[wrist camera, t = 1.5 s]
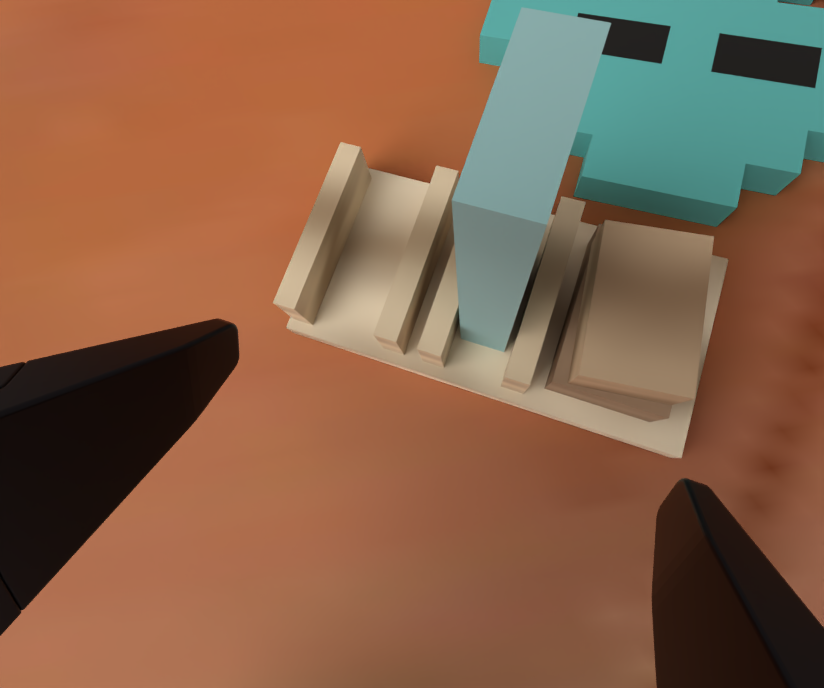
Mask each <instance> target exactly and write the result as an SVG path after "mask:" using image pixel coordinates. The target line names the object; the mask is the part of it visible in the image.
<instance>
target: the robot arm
mask: <svg viewBox="0 0 824 688" xmlns="http://www.w3.org/2000/svg"><path fill="white" fill-rule="evenodd" d="M238 360H239V341H238V329H237V327H236V325H235V324H233V323H231V322H228V321H225V320H222V319H212V320H208V321H203V322H199V323H194V324H190V325H185V326H181V327H177V328H172V329H168V330H163V331H159V332H154V333H150V334H145V335H141V336H137V337H132V338H128V339H123V340H119V341H114V342H110V343H105V344H101V345H96V346H92V347H88V348H83V349H79V350H74V351H70V352H65V353H61V354H56V355H52V356H48V357H43V358H39V359H34V360H30V361H27V362H26V363H24V362H20V363H16V364H12V365H7V366H3V367H0V636H1V635H2V633H3V632H4V631H5V630H6V629H7V628H8V627H9V626H10V625H11V624H12V622H13V621H14V620H15V619H16V618H17V617H18V616H19V615H20V614H21V610H24V609H25V608H26V607H27V606H28V604H29V603H30V602H31V601H32V600H33V599H34V598H35V597H36V596H37V595H38V593H39V592H40V591H41V590H42V589H43V588H44V587H45V586H46V585H47V584H48V582H49V581H50V580H51V579H52V578H53V577H54V576H55V575H56V574H57V573H58V572H59V570H60V569H61V568H62V567H63V566H64V565H65V564H66V563H67V562H68V561H69V559H70V558H71V557H72V556H73V555H74V554H75V553H76V552H77V551H78V550H79V548H80V547H81V546H82V545H83V544H84V543H85V542H86V541H87V540H88V539H89V538H90V536H91V535H92V534H93V533H94V532H95V531H96V530H97V529H98V528H99V527H100V525H101V524H102V523H103V522H104V521H105V520H106V519H107V518H108V517H109V516H110V514H111V513H112V512H113V511H114V510H115V509H116V508H117V507H118V506H119V505H120V503H121V502H122V501H123V500H124V499H125V498H126V497H127V496H128V495H129V494H130V493H131V491H132V490H133V489H134V488H135V487H136V486H137V485H138V484H139V483H140V482H141V480H142V479H143V478H144V477H145V476H146V475H147V474H148V473H149V472H150V471H151V469H152V468H153V467H154V466H155V465H156V464H157V463H158V462H159V461H160V460H161V458H162V457H163V456H164V455H165V454H166V453H167V452H168V451H169V450H170V449H171V448H172V446H173V445H174V444H175V443H176V442H177V441H178V440H179V439H180V438H181V437H182V435H183V434H184V433H185V432H186V431H187V430H188V429H189V428H190V427H191V425H192V424H193V423H194V422H195V421H196V420H197V418H198V417H199V416H200V414H201V413H202V412H203V411H204V409H205V408H206V407H207V405H208V404H209V402H210V401H211V400H212V398H213V397H214V396H215V394H216V393H217V392H218V390H219V389H220V387H221V386H222V385H223V383H224V382H225V381H226V379H227V378H228V377H229V375H230V374H231V372H232V371H233V370H234V368H235V367H236V365H237V363H238ZM652 617H653V634H654V650H655V667H656V684H657V688H824V627H823V626H822V625H821V624H820V622H819V621H818V620H817V619H816V618H815V616H814V615H813V614H812V613H811V611H810V610H809V609H808V608H807V606H806V605H805V604H804V603H803V602H802V600H801V599H800V598H799V597H798V595H797V594H796V593H795V592H794V591H793V589H792V588H791V587H790V586H789V584H788V583H787V582H786V581H785V579H784V578H783V577H782V576H781V575H780V573H779V572H778V571H777V570H776V568H775V567H774V566H773V565H772V564H771V562H770V561H769V560H768V559H767V557H766V556H765V555H764V554H763V552H762V551H761V550H760V549H759V548H758V546H757V545H756V544H755V543H754V541H753V540H752V539H751V538H750V537H749V535H748V534H747V533H746V532H745V530H744V529H743V528H742V527H741V525H740V524H739V523H738V522H737V521H736V519H735V518H734V517H733V516H732V514H731V513H730V512H729V511H728V510H727V508H726V507H725V506H724V505H723V503H722V502H721V501H720V500H719V498H718V497H717V496H716V495H715V494H714V492H713V491H712V490H711V489H710V488H709V487H708V486H707V485H704V484H702V483H699V482H696V481H693V480H690V479H687V478H683V479H681V480H679V481H678V482H677V483H676V485H675V486H674V487H673V489H672V490H671V492H670V493H669V494H668V496H667V497H666V499H665V500H664V501H663V503H662V504H661V506H660V508H659V510H658V513H657V519H656V534H655V549H654V565H653V581H652Z"/></svg>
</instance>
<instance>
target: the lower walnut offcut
mask: <svg viewBox="0 0 824 688" xmlns="http://www.w3.org/2000/svg"><path fill="white" fill-rule="evenodd" d="M601 226H602V224H599V225H598V226H597V228H596V230H595V232H594V234H593V235H592V237H591V239H590V241H589V242H588V244H587V248H586V251H585V254H584V258H583V261H582V264H581V268H580V271H579V274H578V278H577V281H576V285H575V288H574V291H573V295H572V298H571V301H570V305H569V308H568V311H567V315H566V318H565V321H564V325H563V328H562V331H561V335H560V338H559V342H558V345H557V348H556V352H555V355H554V358H553V362H552V365H551V368H550V372H549V375H548V378H547V382H546V385H545V388H544V389H547V390H550V391H554V392H557V393H560V394H563V395H566V396H569V397H572V398H575V399H579V400H582V401H585V402H588V403H591V404H594V405H597V406H600V407H603V408H607V409H610V410H613V411H616V412H619V413H622V414H625V415H628V416H632V417H635V418H638V419H641V420H644V421H647V422H653V421H658V420H664V419H669V416H670V412H671V408H672V405H667V404H662V403H658V402H653V401H648V400H643V399H639V398H634V397H629V396H624V395H620V394H615V393H610V392H605V391H601V390H596V389H591V388H586V387H582V386H577V385H572V384H568V378H569V372H570V366H571V360H572V355H573V349H574V343H575V337H576V331H577V326H578V320H579V314H580V308H581V302H582V297H583V291H584V285H585V279H586V273H587V268H588V262H589V256H590V250H591V244H592V242H593V240H594V238H595V236H596V235H597V233H598V231H599V229H600V228H601Z"/></svg>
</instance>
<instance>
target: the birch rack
mask: <svg viewBox="0 0 824 688" xmlns="http://www.w3.org/2000/svg"><path fill="white" fill-rule="evenodd" d="M458 181H459V175H458V171H456V170H452V169H448V168H444V167H440V166H436V168H435V171H434V174H433V176H432V179H431V182H430V184H429V183H425V182H421V181H417V180H413V179H409V178H405V177H401V176H398V175H394V174H390V173H386V172H382V171H378V170H374V169H370V168H368V166H367V163H366V160H365V158H364V155H363V152H362V149H361V147H358V146H354V145H350V144H346V143H342V142H341V143H340V145H339V147H338V150H337V152H336V154H335V157H334V159H333V162H332V164H331V166H330V169H329V171H328V173H327V176H326V178H325V181H324V183H323V185H322V188H321V190H320V192H319V195H318V197H317V200H316V202H315V204H314V207H313V209H312V211H311V214H310V216H309V219H308V221H307V223H306V226H305V228H304V230H303V233H302V235H301V238H300V240H299V242H298V245H297V247H296V249H295V252H294V254H293V256H292V259H291V261H290V264H289V266H288V268H287V271H286V273H285V275H284V278H283V280H282V283H281V285H280V287H279V290H278V292H277V294H276V297H275V299H274V302H273V303H274V304H275V305H277V306H278V307H279V308H280V309H282V310H283V311H284V312H286V313H287V314H288V315H289V316H291V317H290V320H289V322H288V324H287V327H286V328H288V329H289V330H290V331H292V332H293V333H296V334H299V335H302V336H305V337H308V338H311V339H314V340H317V341H320V342H323V343H326V344H329V345H332V346H335V347H338V348H341V349H344V350H347V351H350V352H353V353H356V354H359V355H362V356H365V357H368V358H371V359H374V360H377V361H380V362H383V363H386V364H389V365H392V366H395V367H398V368H401V369H404V370H407V371H410V372H413V373H416V374H419V375H422V376H425V377H428V378H431V379H434V380H437V381H440V382H443V383H447V384H450V385H453V386H456V387H459V388H462V389H465V390H468V391H471V392H474V393H477V394H480V395H483V396H486V397H489V398H492V399H495V400H498V401H501V402H504V403H507V404H510V405H513V406H516V407H519V408H522V409H525V410H528V411H531V412H534V413H537V414H540V415H543V416H546V417H549V418H552V419H555V420H558V421H561V422H564V423H567V424H570V425H573V426H576V427H579V428H582V429H585V430H588V431H591V432H594V433H597V434H600V435H603V436H606V437H609V438H612V439H616V440H619V441H622V442H625V443H628V444H631V445H634V446H637V447H640V448H643V449H646V450H649V451H652V452H655V453H658V454H661V455H664V456H667V457H670V458H682V454H683V449H684V445H685V441H686V437H687V432H688V428H689V424H690V420H691V416H692V411H693V407H694V403H695V399H696V395H695V399H693V400H689V401H685V402H681V403H677V404H674V405H672V408H671V412H670V416H669V419H664V420H658V421H653V422H647V421H644V420H641V419H638V418H635V417H632V416H628V415H625V414H622V413H619V412H616V411H613V410H610V409H607V408H603V407H600V406H597V405H594V404H591V403H588V402H585V401H582V400H579V399H575V398H572V397H569V396H566V395H563V394H560V393H557V392H554V391H550V390H547V389H544V388H545V385H546V382H547V378H548V375H549V372H550V368H551V365H552V362H553V358H554V355H555V352H556V348H557V345H558V342H559V338H560V335H561V331H562V328H563V325H564V321H565V318H566V315H567V311H568V308H569V305H570V301H571V298H572V295H573V291H574V288H575V285H576V281H577V278H578V274H579V271H580V268H581V264H582V261H583V258H584V254H585V251H586V248H587V244H588V242H589V241H590V239H591V237H592V235H593V234H594V232H595V230H596V228H597V226H595V225H591V224H588V223H584V222H580V220H581V217H582V213H583V210H584V207H585V203H586V202H583V201H579V200H575V199H571V198H567V197H563V196H562V197H561V200H560V203H559V205H558V208H557V211H556V214H555V215H552V214H550V217H549V220H548V223H547V227H546V229H545V232H544V235H543V238H542V241H541V244H540V247H539V250H538V253H537V256H536V259H535V262H534V265H533V268H532V271H531V274H530V277H529V280H528V283H527V286H526V289H525V292H524V295H523V298H522V300H521V303H520V306H519V309H518V312H517V315H516V318H515V321H514V324H513V327H512V330H511V333H510V336H509V339H508V342H507V345H506V348H505V351H504V352H502V351H498V350H495V349H492V348H489V347H486V346H482V345H479V344H476V343H473V342H469V341H466V340H463V339H461V334H460V319H459V303H458V288H457V273H456V258H455V243H454V228H453V213H452V198H453V195H454V192H455V190H456V187H457V184H458ZM727 264H728V259H726V258H722V257H718V256H714V255H712V258H711V267H710V275H709V284H708V292H707V301H706V309H705V318H704V326H703V335H702V344H701V352H700V361H699V369H698V378H697V386H696V394H697V390H698V386H699V382H700V378H701V373H702V369H703V365H704V361H705V357H706V352H707V348H708V344H709V340H710V335H711V331H712V327H713V323H714V319H715V314H716V310H717V306H718V302H719V297H720V293H721V289H722V285H723V281H724V276H725V272H726V268H727Z"/></svg>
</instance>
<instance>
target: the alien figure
mask: <svg viewBox="0 0 824 688" xmlns="http://www.w3.org/2000/svg"><path fill="white" fill-rule="evenodd" d="M778 1H780V2H788V3H796V4H803V5H810V4H811V3H812V2H813V0H492V1H491V4H490V7H489V10H488V13H487V16H486V19H485V22H484V25H483V28H482V31H481V34H480V56H479V63H485V64H491V65H496V66H501V63H502V60H503V57H504V55H505V52H506V49H507V46H508V43H509V41H510V38H511V35H512V32H513V30H514V27H515V24H516V21H517V19H518V16H519V13H520V10H521V8H522V7H523V8H529V9H535V10H541V11H546V12H552V13H558V14H563V15H569V16H575V17H581V18H586V19H592V20H598V21H604V22H609V23H611V25H610V29H609V32H608V35H607V38H606V41H605V44H604V47H603V51H602V54H601V57H600V60H599V63H598V66H597V69H596V73H595V76H594V79H593V82H592V85H591V88H590V91H589V95H588V98H587V101H586V104H585V107H584V110H583V113H582V117H581V120H580V123H579V126H578V129H577V132H576V135H575V139H574V142H573V145H572V148H571V151H570V154H569V155H573V156H578V157H583V158H584V159H583V163H582V167H581V170H580V174H579V178H578V182H577V185H576V189H575V193H574V197H578V198H583V199H588V200H592V201H597V202H602V203H607V204H611V205H616V206H621V207H625V208H630V209H635V210H639V211H644V212H649V213H653V214H658V215H663V216H667V217H672V218H677V219H681V220H686V221H691V222H696V223H700V224H705V225H710V226H714V227H717V226H718V225H719V224H720V223H721V222H722V221H723V220H724V219H726V218H727V217H728V216H729V215H730V214H731V213H732V212H733V211H734V210H735V209H736V208H737V205H738V200H739V195H740V190H741V189H745V190H750V191H755V192H760V193H765V194H770V195H776V194H778V193H779V192H780V191H781V190H782V189H783V188H785V187H786V186H787V185H788V184H789V183H790V182H792V181H793V180H794V179H795V178H796V177H797V176H799V175H800V174H801V169H802V163H803V159H808V160H814V161H819V162H824V8H816V7H809V6H801V5H793V4H786V3H778Z"/></svg>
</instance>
